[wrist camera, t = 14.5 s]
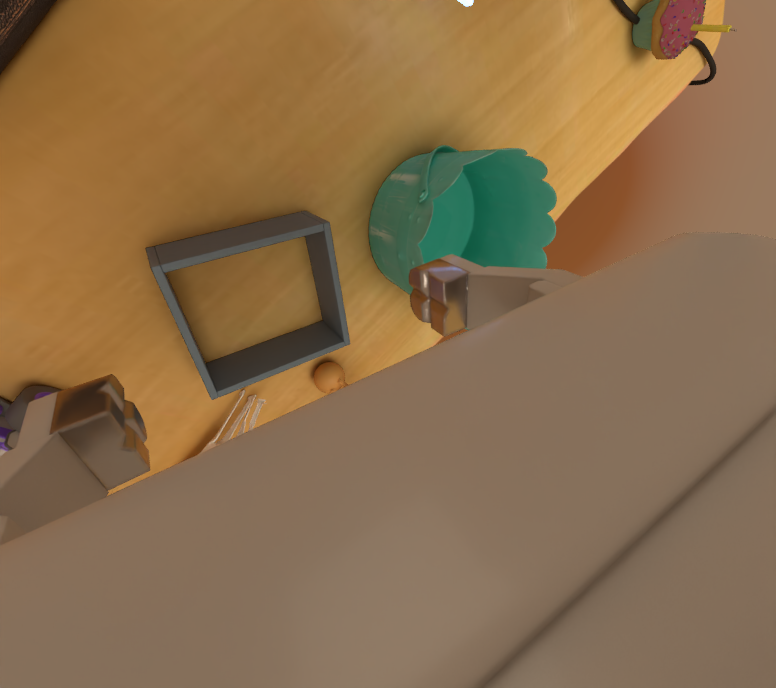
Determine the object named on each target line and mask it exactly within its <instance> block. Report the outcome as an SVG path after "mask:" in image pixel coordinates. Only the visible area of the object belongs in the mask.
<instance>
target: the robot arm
mask: <svg viewBox="0 0 776 688" xmlns="http://www.w3.org/2000/svg"><path fill="white" fill-rule="evenodd" d="M458 1H459V2H461V3H462V4H464V5H465V6H470V5H472V4H473V0H458ZM613 1H614V2H615V4H616V5H617V6H618V8H619V9H620V10H621V12H622V13H623V14H624V15H625V16H626V17H627V18H628V19H629V20H630V21H631V22H633V23H634V24H635V25H637V24H638V23H639V21H640V18H639V17H638V16H637V15H636V14H635V13H633V12H632V11H631V10H630V8H629V7H628V6H627V5H626V4H625V2H624V1H623V0H613ZM690 44H693V45H695V46H697V47H698V48H699V49H700V50H701V52H702V53H703V55H704V57H705V58H706V60H707V62H708V64H709V67H710V76H709V77H708V78H706V79H704V80H697V81H691V82H690V83H689V84H688V85H702V84H706V83H708V82H710V81H711V80H712V79H713V78H714V76H715V74H716V65H715V62H714V60H713V58H712V56H711V54H710V52H709V50H708V49H707V47H706V46H705V44H704V43H703V42H702V41H700V40H699V39H696V38H693V41H691V42H690ZM409 284H410V285H411V286H412V287H413V290H412V293H411V295H410V302H411V307H412V310H413V312H414V314H415V315H416V317H417V318H418V319H419V320H421V321H422V322H427V323H431V328H432V329H434V330H435V331H437V332H438V333H440V334H441V335H443V336H444V337H445V336H448V335H450V334H453V333H455V332H458V331H460V330H462V329H465V328H467V329H470V330H468V331H466V332H464V333H462V334H459V335H457V336H455V337H453V338H451V339H449V340H446V341H444V342H442V343H440V344H438V345H435V346H433V347H431V348H429V349H427V350H425V351H422V352H420V353H418V354H416V355H414V356H412V357H409V358H407V359H405V360H403V361H401V362H398V363H396V364H394V365H392V366H390V367H388V368H385V369H383V370H381V371H379V372H377V373H374V374H372V375H370V376H368V377H366V378H364V379H361V380H359V381H357V382H355V383H353V384H351V385H348V386H346V387H344V388H342V389H340V390H337V391H335V392H333V393H331V394H329V395H327V396H324V397H322V398H320V399H318V400H316V401H313V402H311V403H309V404H307V405H305V406H303V407H300V408H298V409H296V410H294V411H292V412H289V413H287V414H285V415H283V416H281V417H279V418H276V419H274V420H272V421H270V422H268V423H266V424H263V425H261V426H259V427H257V428H255V429H252V430H250V431H248V432H246V433H244V434H242V435H239V436H237V437H235V438H233V439H231V440H228V441H226V442H224V443H222V444H220V445H218V446H215V447H213V448H211V449H209V450H207V451H205V452H202V453H200V454H198V455H196V456H194V457H191V458H189V459H187V460H185V461H183V462H181V463H178V464H176V465H174V466H172V467H170V468H167V469H165V470H163V471H161V472H159V473H157V474H154V475H152V476H150V477H148V478H146V479H144V480H141V481H139V482H137V483H135V484H133V485H131V486H128V487H126V488H124V489H122V490H120V491H117V492H115V493H113V494H111V495H109V496H107V494H108V493H109V492H108V490H110V489H112V488H115V487H117V486H119V485H121V484H123V483H125V482H127V481H129V480H131V479H133V478H135V477H137V476H140V475H142V474H144V473H146V472H148V471H150V462H149V451H148V449H147V448H146V446H145V445H144V442H145V441H146V439H147V433H146V428H145V425H144V422H143V419H142V417H141V415H140V413H139V411H138V410H137V408H136V406H135V405H134V403H132V402H130V401H127V400H124V388H123V387H122V385H121V384H120V382H119V381H118V379H117V378H116V377H115V376H114V375H112V374H110V375H107V376H104V377H101V378H98V379H95V380H92V381H89V382H86V383H83V384H80V385H77V386H74V387H71V388H68V389H65V390H62V391H60V392H58V391H57V392H55V393H52V394H50V395H47V396H44V397H42V398H39V399H36V400H34V401H31V402H29V404H28V407H27V410H26V414H25V417H24V420H23V424H22V427H21V430H20V434H19V437H18V440H17V444H16V447H15V448H14V449H12V450H9V451H7V452H5V453H4V454H3V455H2V456H1V457H0V688H776V239H773V238H768V237H764V236H757V235H751V234H738V233H720V232H719V233H718V232H716V233H715V232H707V233H704V232H698V233H697V232H695V233H682V234H678V235H675V236H673V237H670V238H668V239H666V240H664V241H662V242H660V243H658V244H655V245H653V246H651V247H649V248H647V249H645V250H642V251H640V252H638V253H636V254H634V255H632V256H630V257H627V258H625V259H623V260H621V261H618V262H616V263H614V264H612V265H610V266H607V267H605V268H603V269H601V270H599V271H597V272H595V273H592V274H591V275H588V276H586V277H582V276H579V275H576V274H573V273H571V272H568V271H565V270H559V269H538V268H517V267H496V266H488V267H482V266H480V265H478V264H475V263H473V262H470V261H468V260H466V259H463V258H461V257H458V256H456V255H454V254H449V255H446V256H444V257H441V258H438V259H435V260H433V261H430V262H428V263H425V264H422V265H420V266H417V267H415V268H413V269H411V270H410V272H409ZM106 496H107V497H106Z"/></svg>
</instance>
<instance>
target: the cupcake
mask: <svg viewBox="0 0 776 688" xmlns="http://www.w3.org/2000/svg"><path fill="white" fill-rule="evenodd" d="M705 1H706V0H653V1H651V2H649V3H647V4H645V5H644V6H643V7H642V8H641V9H640V11H639V12H638V14H637V16H638V17H639V18H640V21H639V23H638V24H637V25H635V24H634V25H633V31H632V39H633V43H634V45H635V46H636V47H640V48H644V49H647V50H650V51H652V54H653V55H654V56H655V58H656V59H672V58H673V59H675V57H677V56H678V54H681V52H682V51H683V50H684V49H686V48H687V46H689V45H688V44H689V43H690V42H691V41H693V38H694V37H695V36H696V34H697V32H698V31H708V32H729V31H730V30H731V31H737V30H736V29H732V28H731V25H702V23H703V17H704V16H703V15H704V10H705V7H704V6H705V5H706V3H705Z"/></svg>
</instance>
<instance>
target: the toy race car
mask: <svg viewBox="0 0 776 688" xmlns="http://www.w3.org/2000/svg"><path fill="white" fill-rule="evenodd" d="M57 391H58V392H60V391H62V390H59V389H56V388H53V387H48V386H31V387H28V388H26V389H24V390H23V391H22V392H21V393H20V395H19V396H18V397H17V398H16V399H15V401H14V402H13V403H12V404H11V403H9V402H7V401H5V400H4V399H2V398H0V457H1V456H2V455H3V454H4V453H5V452H7V451H9V450H12V449H14V448H15V447H16V444H17V440H18V437H19V434H20V430H21V427H22V424H23V420H24V417H25V414H26V410H27V407H28V404H29V402H31V401H34V400H36V399H39V398H42V397H44V396H47V395H50V394H52V393H55V392H57Z"/></svg>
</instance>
